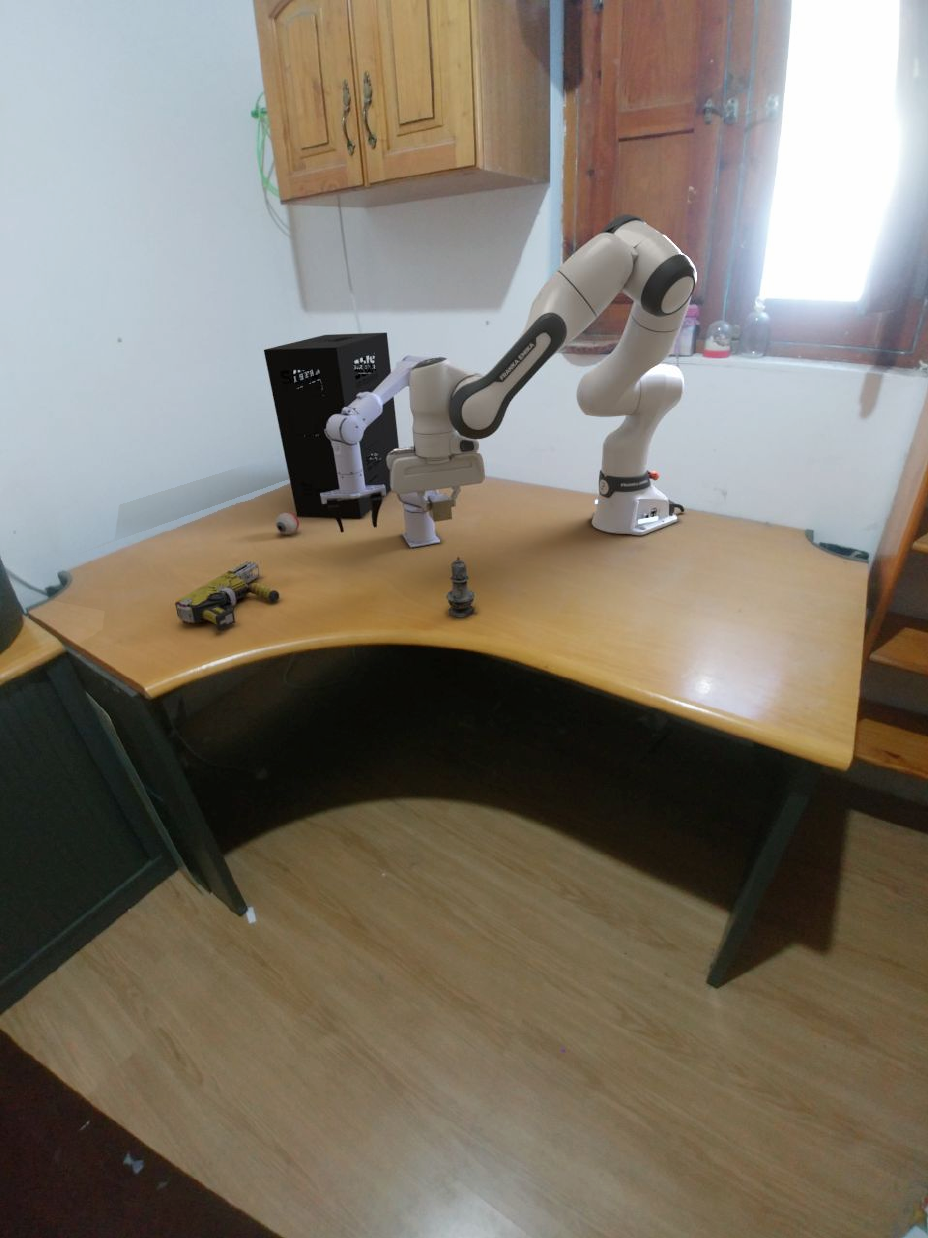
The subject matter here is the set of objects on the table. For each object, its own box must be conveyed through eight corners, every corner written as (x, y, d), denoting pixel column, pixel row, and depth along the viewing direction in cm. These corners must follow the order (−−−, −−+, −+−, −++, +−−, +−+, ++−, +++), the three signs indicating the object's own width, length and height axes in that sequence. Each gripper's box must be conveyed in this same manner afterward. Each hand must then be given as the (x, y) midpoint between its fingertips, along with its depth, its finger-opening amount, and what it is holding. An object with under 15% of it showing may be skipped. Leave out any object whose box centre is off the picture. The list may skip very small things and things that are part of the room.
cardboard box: (361, 518, 173) (336, 347, 150) (296, 515, 177) (263, 349, 155) (402, 478, 204) (386, 332, 182) (346, 477, 209) (325, 334, 186)
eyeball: (273, 537, 164) (268, 516, 161) (287, 528, 169) (282, 508, 166) (291, 539, 161) (286, 518, 158) (305, 530, 166) (301, 510, 163)
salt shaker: (472, 618, 120) (470, 563, 114) (444, 617, 121) (439, 562, 115) (478, 604, 125) (475, 551, 119) (450, 603, 126) (446, 550, 120)
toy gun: (300, 570, 137) (245, 558, 141) (232, 617, 117) (169, 602, 121) (302, 588, 139) (247, 576, 143) (235, 638, 119) (173, 622, 123)
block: (433, 522, 130) (432, 502, 127) (429, 515, 133) (427, 495, 131) (452, 519, 131) (451, 499, 128) (447, 512, 134) (445, 493, 132)
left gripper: (318, 480, 129) (328, 539, 136) (385, 471, 132) (392, 529, 139) (316, 471, 135) (326, 528, 142) (380, 463, 138) (386, 519, 145)
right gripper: (387, 453, 119) (395, 519, 126) (486, 441, 123) (488, 505, 130) (382, 446, 124) (390, 509, 131) (477, 434, 129) (479, 497, 136)
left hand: (358, 528), depth 141 cm, fingers open, 7 cm apart
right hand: (439, 507), depth 131 cm, fingers closed on block, 4 cm apart
